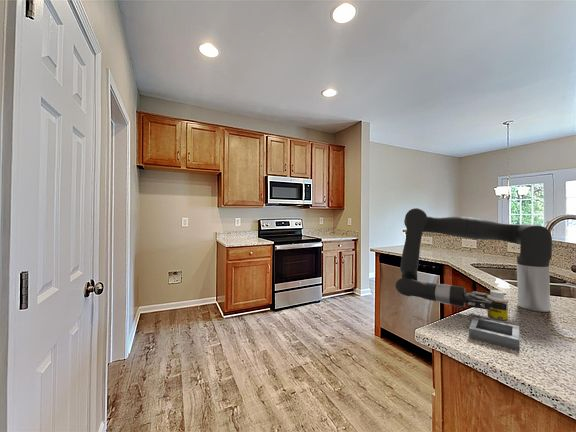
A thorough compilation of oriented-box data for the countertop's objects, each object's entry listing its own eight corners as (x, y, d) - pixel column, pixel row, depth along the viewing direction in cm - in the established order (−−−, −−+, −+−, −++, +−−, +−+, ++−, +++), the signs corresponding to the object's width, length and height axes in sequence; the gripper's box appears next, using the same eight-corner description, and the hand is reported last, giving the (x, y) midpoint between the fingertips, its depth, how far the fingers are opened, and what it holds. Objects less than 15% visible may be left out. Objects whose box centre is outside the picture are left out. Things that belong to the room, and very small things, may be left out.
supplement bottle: (484, 318, 91) (483, 290, 91) (493, 315, 93) (492, 288, 93) (502, 324, 86) (501, 294, 86) (511, 321, 88) (511, 292, 88)
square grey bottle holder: (473, 325, 86) (473, 316, 86) (519, 335, 78) (519, 326, 78) (469, 337, 77) (469, 328, 77) (519, 350, 69) (519, 340, 69)
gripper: (446, 289, 94) (506, 299, 82) (453, 281, 104) (507, 289, 93) (446, 309, 94) (506, 322, 82) (453, 299, 104) (507, 309, 93)
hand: (506, 304), depth 88 cm, fingers closed on supplement bottle, 5 cm apart
